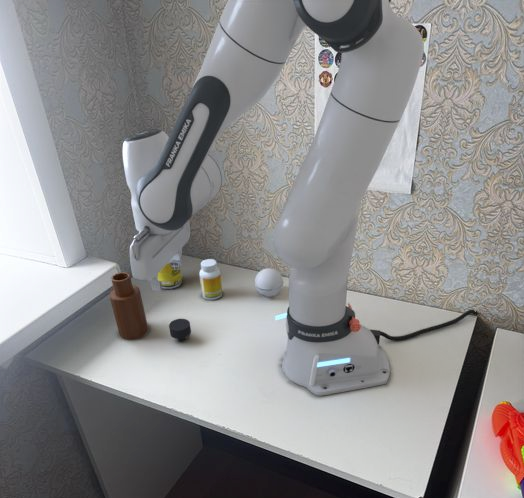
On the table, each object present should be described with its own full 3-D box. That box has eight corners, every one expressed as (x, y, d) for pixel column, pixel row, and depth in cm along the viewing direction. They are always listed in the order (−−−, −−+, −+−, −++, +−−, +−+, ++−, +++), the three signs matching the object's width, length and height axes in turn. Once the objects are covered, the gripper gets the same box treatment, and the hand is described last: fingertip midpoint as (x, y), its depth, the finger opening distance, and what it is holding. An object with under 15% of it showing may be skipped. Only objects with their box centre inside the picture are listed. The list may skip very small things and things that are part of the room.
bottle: (150, 322, 123) (138, 268, 114) (145, 339, 117) (132, 283, 108) (122, 324, 123) (108, 269, 114) (116, 340, 117) (101, 285, 108)
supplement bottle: (198, 294, 132) (193, 262, 126) (214, 287, 135) (211, 255, 129) (209, 302, 129) (205, 269, 123) (226, 295, 131) (223, 262, 125)
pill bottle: (171, 292, 134) (164, 252, 127) (153, 286, 137) (145, 247, 130) (187, 281, 138) (181, 242, 131) (169, 275, 141) (162, 237, 134)
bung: (193, 332, 119) (190, 318, 116) (191, 344, 115) (188, 330, 112) (172, 333, 119) (170, 319, 116) (170, 345, 115) (167, 331, 112)
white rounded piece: (249, 296, 130) (247, 271, 126) (267, 284, 135) (266, 260, 130) (280, 308, 125) (279, 283, 121) (297, 295, 130) (297, 270, 125)
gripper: (146, 241, 90) (158, 306, 99) (191, 199, 106) (199, 258, 114) (115, 238, 92) (130, 301, 101) (165, 197, 107) (174, 255, 116)
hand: (167, 278), depth 108 cm, fingers open, 8 cm apart
